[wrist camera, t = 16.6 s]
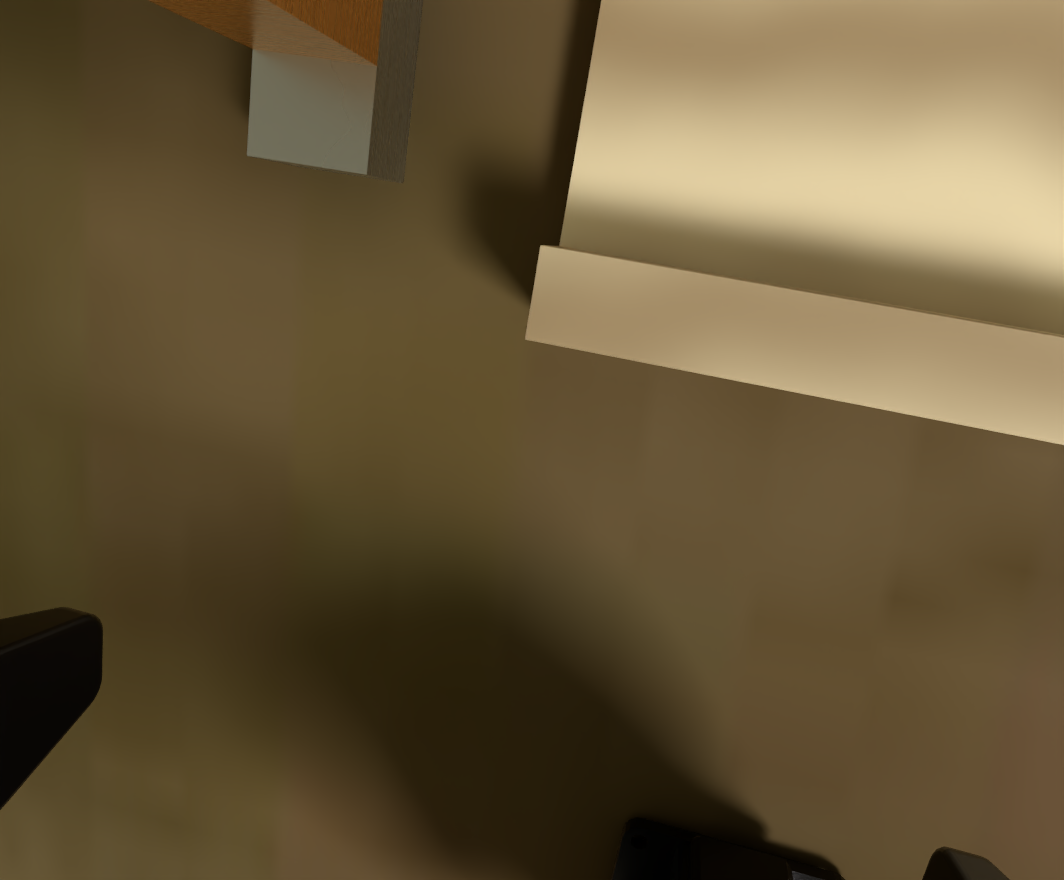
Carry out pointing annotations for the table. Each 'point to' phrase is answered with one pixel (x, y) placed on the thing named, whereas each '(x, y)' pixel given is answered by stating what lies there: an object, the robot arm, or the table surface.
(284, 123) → the grey-ended wooden block
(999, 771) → the table surface
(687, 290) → the slotted block
